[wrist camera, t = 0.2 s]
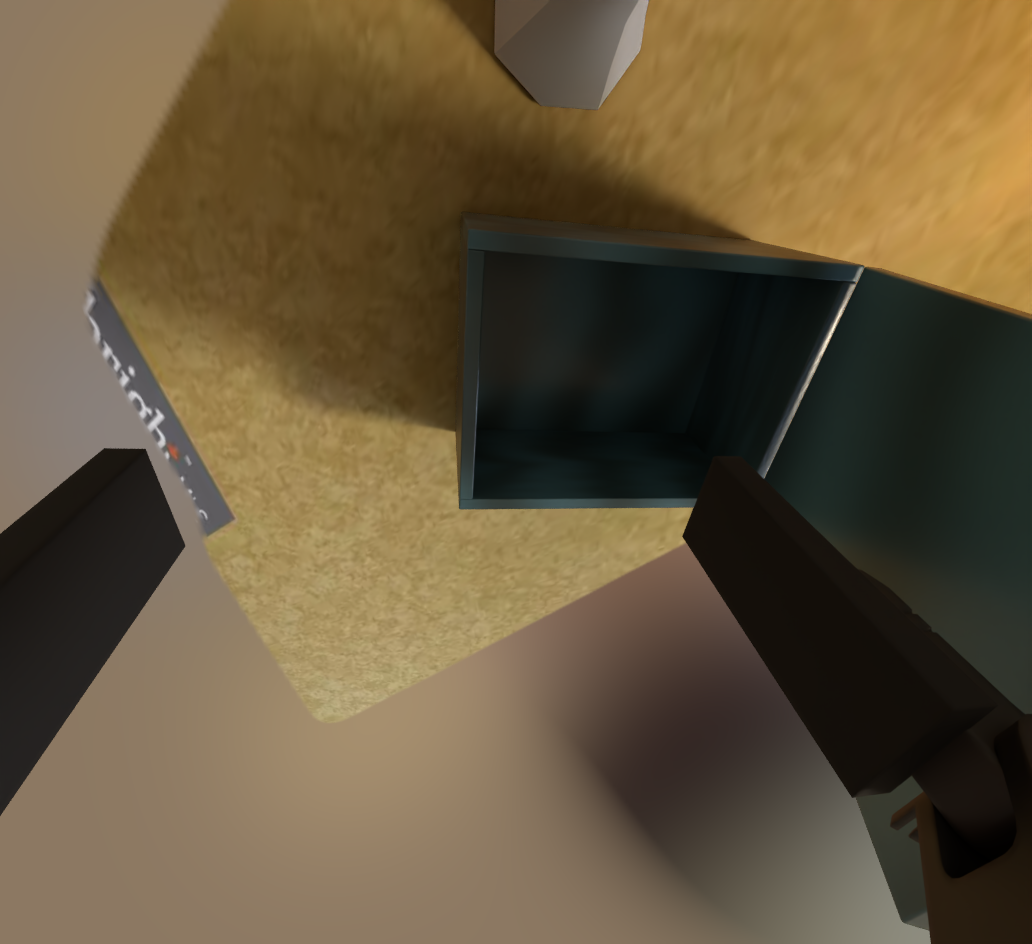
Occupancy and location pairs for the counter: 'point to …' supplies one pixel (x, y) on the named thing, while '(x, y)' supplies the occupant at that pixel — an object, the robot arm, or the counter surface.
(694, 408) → the chest
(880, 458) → the lid
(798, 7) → the counter surface
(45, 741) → the robot arm
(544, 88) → the flask
